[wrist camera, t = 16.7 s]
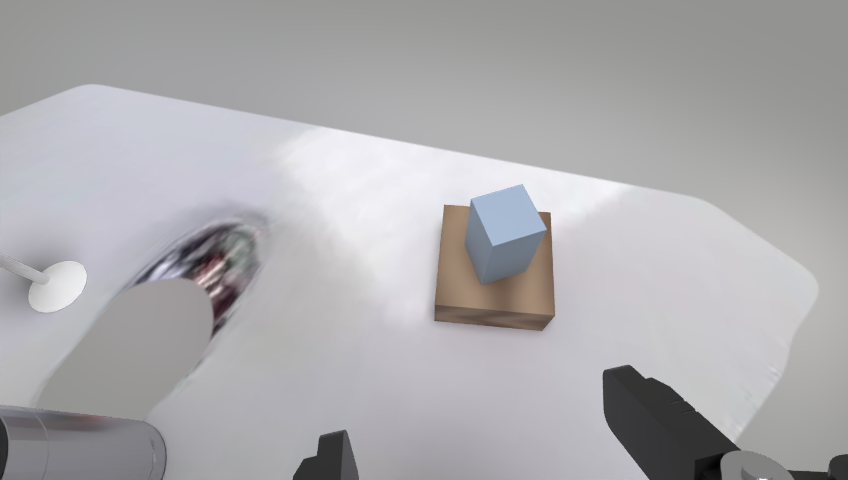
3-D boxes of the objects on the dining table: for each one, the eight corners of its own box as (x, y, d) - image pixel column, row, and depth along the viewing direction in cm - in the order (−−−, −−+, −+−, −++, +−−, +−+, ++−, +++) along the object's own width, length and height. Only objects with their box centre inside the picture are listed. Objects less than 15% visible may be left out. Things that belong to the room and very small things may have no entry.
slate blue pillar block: (481, 285, 43) (492, 246, 35) (464, 244, 45) (471, 198, 37) (525, 271, 43) (546, 229, 35) (506, 231, 46) (522, 183, 38)
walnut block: (434, 321, 47) (434, 304, 42) (443, 229, 53) (444, 204, 47) (541, 331, 47) (555, 315, 41) (538, 237, 52) (550, 212, 47)
